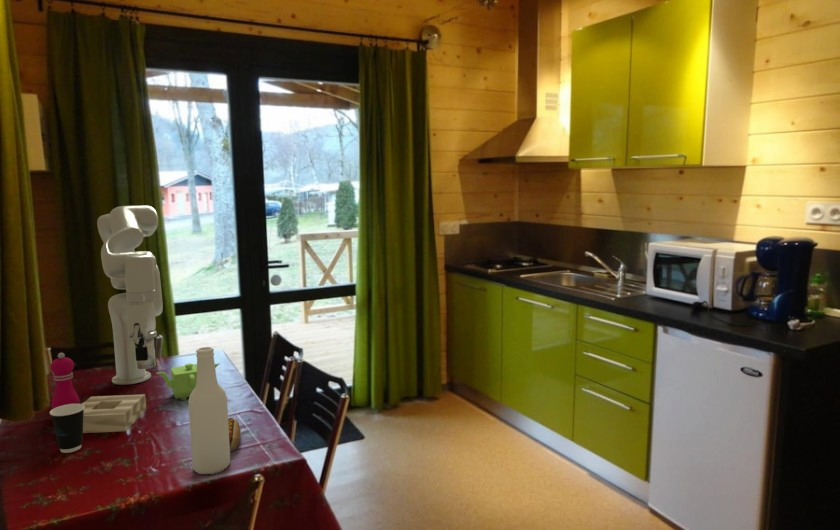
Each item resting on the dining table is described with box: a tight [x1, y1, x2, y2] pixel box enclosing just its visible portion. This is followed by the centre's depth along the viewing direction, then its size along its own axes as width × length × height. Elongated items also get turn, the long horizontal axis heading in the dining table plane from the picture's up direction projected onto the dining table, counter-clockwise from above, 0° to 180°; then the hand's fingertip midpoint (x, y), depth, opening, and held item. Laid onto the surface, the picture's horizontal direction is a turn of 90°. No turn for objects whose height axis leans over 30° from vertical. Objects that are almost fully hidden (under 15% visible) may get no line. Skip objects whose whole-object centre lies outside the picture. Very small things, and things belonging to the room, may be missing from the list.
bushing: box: [131, 329, 158, 370], centre depth 170 cm, size 7×7×10 cm
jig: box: [81, 393, 147, 434], centre depth 170 cm, size 16×16×5 cm
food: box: [228, 417, 241, 452], centre depth 156 cm, size 14×6×5 cm, turn 16°
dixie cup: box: [49, 403, 85, 454], centre depth 152 cm, size 8×8×11 cm
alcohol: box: [188, 346, 231, 475], centre depth 140 cm, size 9×9×30 cm
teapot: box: [156, 362, 221, 401], centre depth 192 cm, size 15×13×11 cm
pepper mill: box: [50, 352, 81, 409], centre depth 173 cm, size 7×7×20 cm
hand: (145, 356), depth 170 cm, fingers closed on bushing, 5 cm apart
